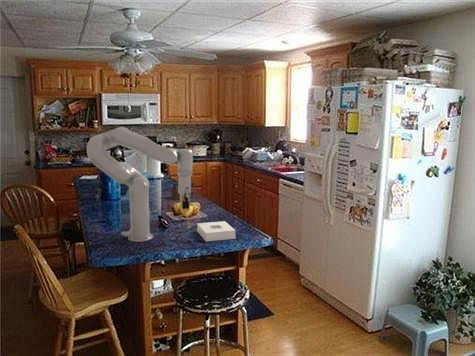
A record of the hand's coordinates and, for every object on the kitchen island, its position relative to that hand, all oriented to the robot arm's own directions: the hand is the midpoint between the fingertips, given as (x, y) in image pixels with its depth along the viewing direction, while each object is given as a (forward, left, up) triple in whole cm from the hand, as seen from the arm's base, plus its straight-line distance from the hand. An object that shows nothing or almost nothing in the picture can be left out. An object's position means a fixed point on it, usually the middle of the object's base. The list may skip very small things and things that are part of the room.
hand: (184, 207), depth 209 cm
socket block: (+16, -2, -16) cm, 23 cm away
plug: (0, 0, -3) cm, 3 cm away
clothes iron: (+16, +87, -16) cm, 90 cm away
